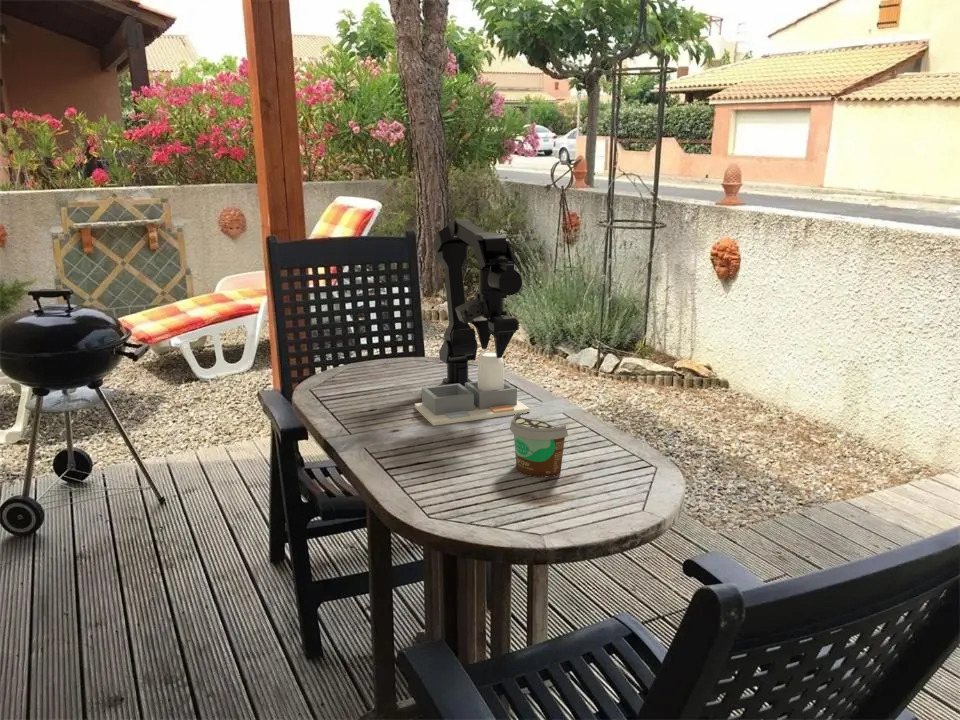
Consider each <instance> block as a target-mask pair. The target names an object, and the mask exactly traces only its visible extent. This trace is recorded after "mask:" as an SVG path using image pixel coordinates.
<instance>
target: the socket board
mask: <svg viewBox="0 0 960 720" xmlns="http://www.w3.org/2000/svg"><path fill="white" fill-rule="evenodd" d="M421 399H422V400H421V401H422V402H418V403H414V409H415V410H417V411H418V412H419V414H420V415H422V416H423V417H424V419H426V420H427V421H428V422H429V423H430V424H431V425H432V426H441V425H449V424H455V423H463V422H469V421H476V420H485V419H492V418H499V417H506V416H514V414H517V413H519V412H520V415H521V414H522V413H523V414H528V413H527V412H530V413H531V408H530V407H528V406H527V405H525V404H524V403H523V402H521V401H519V400H518V388H517V387H515V386H514V385H512V384H510V383H509V382H507V381H505V380H504V389H501V390H492V391H484V392H481V391H480V390H479V389H478V380H477V381H473V382H466V383H465V385H461V384H460V383H458V384H449V385H448V384H443V385H441V384H440V385H433V386H425V387H421Z"/></svg>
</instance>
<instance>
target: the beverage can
mask: <svg viewBox="0 0 960 720" xmlns="http://www.w3.org/2000/svg"><path fill="white" fill-rule="evenodd" d="M504 362H505V361H504V358H503V357H502V358H497V356H496V351H494V350H492V351H491V350H490V351H483V352H481V353H480V356H479V358H478V359H477V381H478V389H479V390H480V391H481V392H484V391H492V390H501V389H504V381H505V378H504V377H505V375H504V373H505V372H504V371H505V370H504V369H505V363H504Z"/></svg>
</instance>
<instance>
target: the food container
mask: <svg viewBox="0 0 960 720" xmlns="http://www.w3.org/2000/svg"><path fill="white" fill-rule="evenodd" d="M509 430H510V432H511V433H512V434H513V440H514V441H513V442H514V452H515V454H514V455H515V464H516V465H515V466H516V470H517V472H519V473H520V472H521V473H520V474H522V473H523V474H522V475H525V476H528V475H531V476H530V477H533V476H536V477H535V478H546V477H545V476H550V477H554V476H553V475H555V476H558V475H560V474H559V473H561V472H562V463H563V454H564V447H565V438H566V437H568V436H569V434H568V428H567V425H566V424H565V425H561V426H558V427H557V426H553V425H551V424H550V423H546V422H544V421H542V420H536V419H529V418H525V417H521V414H520V412H519V413H517V414H515V415H512V419H511V421H510V426H509ZM557 474H558V475H557ZM542 476H543V477H542Z"/></svg>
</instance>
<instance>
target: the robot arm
mask: <svg viewBox="0 0 960 720" xmlns="http://www.w3.org/2000/svg"><path fill="white" fill-rule="evenodd" d="M470 247H472V248H473V250H472V253H473V255H474V256H475V257H476V259H477V260H478V262H477V264H476V267H477V268H478V270H479V271H478V273H479V274H478V285H479V286H478V287H479V289H478V290H479V291H477V292H476V293H475V294H474V296H475V297H474V299H472V300H469V301H467V302H466V293H465V286H464V284H465V283H464V273H463V265H464V263H465V261H466V259H467V258H468V249H469V248H470ZM433 249H434V252H435V257H436V259H437V261H438V262H439V264H440V265H441V267H442V268H443V273H444V284H445V292H446V293H445V294H446V304H447V305H446V306H447V316H448V325H447V328H446V330H445V332H444V334H443V342H442V345H441V347H440V349H439V352H438V356H439V360H440V362H443V363H444V364H446V378H442V381H443V382H444V383H446V385H449V384H458V383H460V384H461V385H462V386H465V383H466V382H474V381H472V380H471V379H470V378H469V361H476V358H477V352H478V346H479V345H478V341H477V339H476V333H477V336H478V340H479V342H480V347H481V350H487V348H488V345H489V343H490V339H491V336H492V337H493V341H494V349H495V352H496V356H497V358H502V359H503V355H504V353H505V352H506V349H507V347H508V345H509V343H510V341H511V339H512V338H513V336H514V334H516V333H517V331H519V329H520V321H519V320H518V319H517V318H516V317H513V316H512V315H508V314H507V313H508V311H507V310H505V309H504V306H505V305H504V304H505V303H504V302H505V301H504V300H505V299H507V298H508V296H514V295H516V294H517V293H519V291H520V289H521V288H522V286H523V279H522V276H521V274H520V273H519V271H517V270H516V269H515V265H516V262H515V259H516V257H515V255H514V252H513V250H512V247H511V244H510V242H509V239H508V238H507V236H506V235H505V234H504V233H499V232H487V231H486V230H484V229H483V228H481V227H480V226H477V225H476V224H474V223H473V222H472V221H471V220H470V219H468V218H467V219H464V218H463V219H453V220H451V221H450V222H449V224H448V225H447V226H445V227H443V228H442V229H441V230H439V231H438V232H437V234H436V235H435V238H434V240H433ZM469 323H470V324H472V325H473V327H474V328H475V329H474V328H473V327H471V326H470V324H469Z"/></svg>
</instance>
